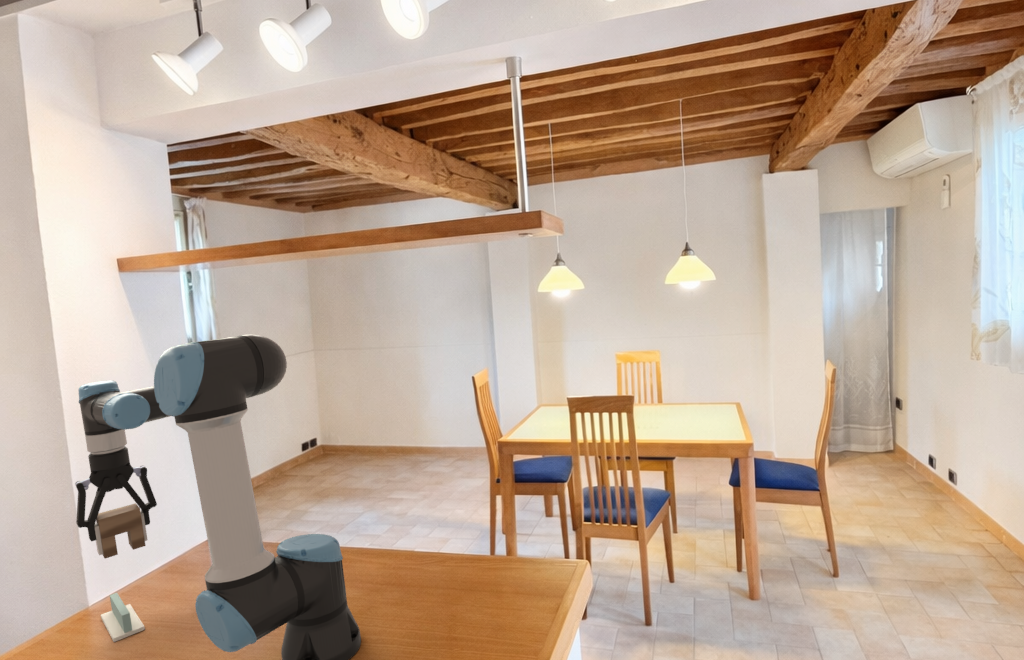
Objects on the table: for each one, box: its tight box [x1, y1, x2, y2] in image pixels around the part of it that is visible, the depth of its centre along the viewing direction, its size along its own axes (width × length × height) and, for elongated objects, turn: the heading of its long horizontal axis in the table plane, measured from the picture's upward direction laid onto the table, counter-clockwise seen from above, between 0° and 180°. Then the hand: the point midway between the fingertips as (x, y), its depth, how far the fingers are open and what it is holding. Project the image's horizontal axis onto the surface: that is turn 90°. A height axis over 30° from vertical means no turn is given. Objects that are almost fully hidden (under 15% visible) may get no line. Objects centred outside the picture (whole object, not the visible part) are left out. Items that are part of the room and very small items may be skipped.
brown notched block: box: [95, 502, 146, 559], centre depth 141 cm, size 5×8×9 cm, turn 131°
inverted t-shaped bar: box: [100, 592, 146, 643], centre depth 141 cm, size 15×6×5 cm, turn 43°
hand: (122, 545), depth 141 cm, fingers closed on brown notched block, 8 cm apart
